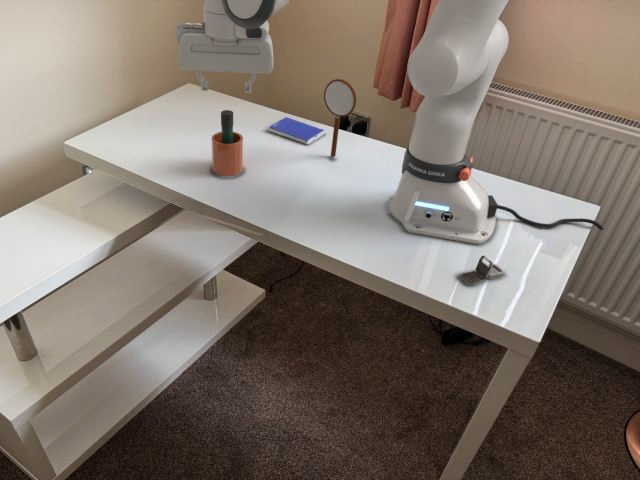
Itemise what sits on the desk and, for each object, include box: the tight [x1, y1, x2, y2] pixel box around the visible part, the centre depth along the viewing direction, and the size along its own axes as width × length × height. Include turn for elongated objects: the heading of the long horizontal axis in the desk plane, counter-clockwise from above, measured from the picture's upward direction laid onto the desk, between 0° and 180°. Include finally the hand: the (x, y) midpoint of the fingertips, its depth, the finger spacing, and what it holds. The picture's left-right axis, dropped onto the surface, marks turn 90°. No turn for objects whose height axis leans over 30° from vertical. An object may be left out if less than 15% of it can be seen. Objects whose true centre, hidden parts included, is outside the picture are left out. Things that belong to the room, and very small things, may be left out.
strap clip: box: [459, 255, 505, 286], centre depth 108 cm, size 8×3×4 cm, turn 114°
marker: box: [220, 109, 234, 144], centre depth 134 cm, size 3×3×14 cm
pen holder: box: [211, 131, 244, 177], centre depth 136 cm, size 7×7×8 cm
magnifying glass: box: [323, 78, 357, 160], centre depth 138 cm, size 9×2×20 cm, turn 50°
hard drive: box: [268, 116, 325, 145], centre depth 154 cm, size 2×8×12 cm
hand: (226, 90), depth 126 cm, fingers open, 8 cm apart
